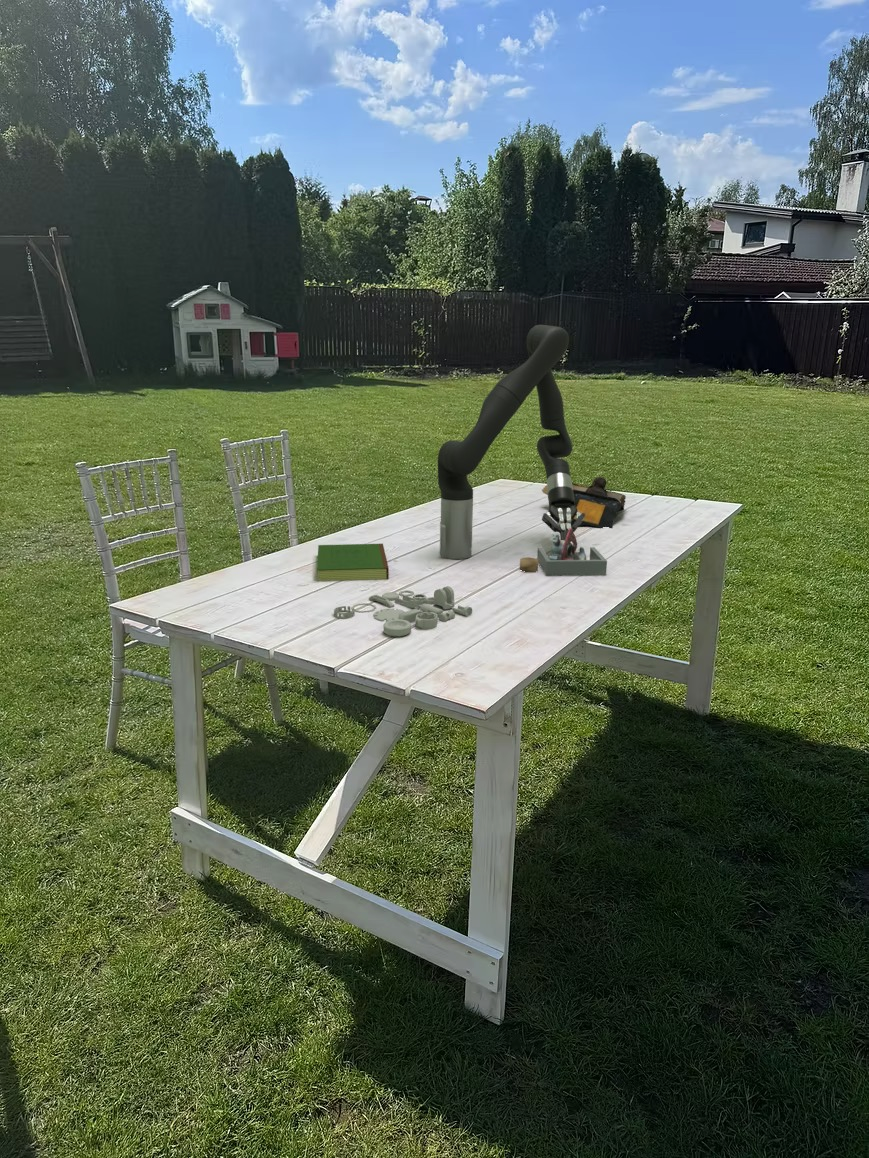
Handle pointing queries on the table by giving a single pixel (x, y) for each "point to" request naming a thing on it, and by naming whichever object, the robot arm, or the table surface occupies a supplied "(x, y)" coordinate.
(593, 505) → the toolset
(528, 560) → the tan rounded lump
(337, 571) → the hardcover book
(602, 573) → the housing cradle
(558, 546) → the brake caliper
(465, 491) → the robot arm
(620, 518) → the table surface
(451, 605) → the robot parts
